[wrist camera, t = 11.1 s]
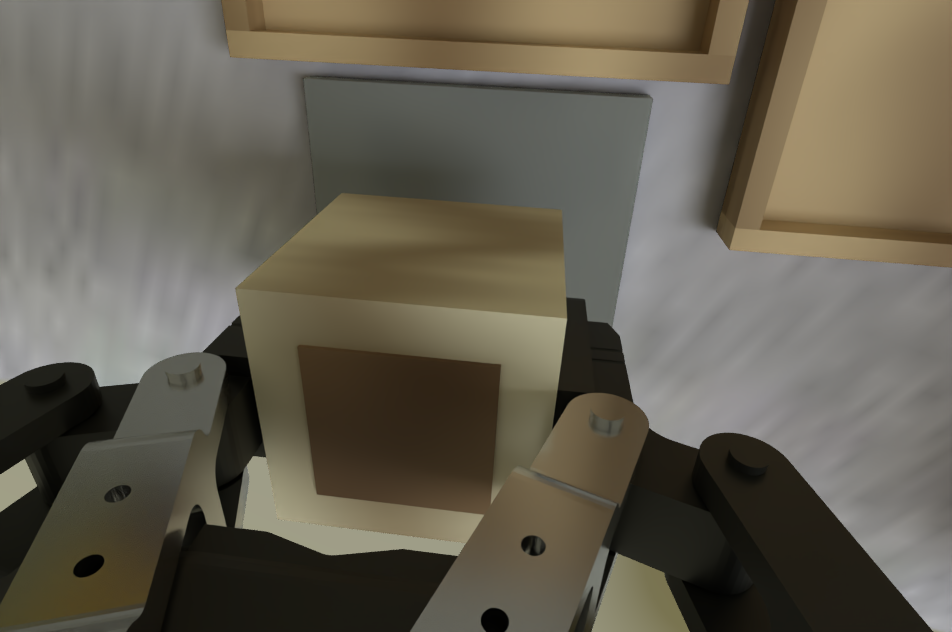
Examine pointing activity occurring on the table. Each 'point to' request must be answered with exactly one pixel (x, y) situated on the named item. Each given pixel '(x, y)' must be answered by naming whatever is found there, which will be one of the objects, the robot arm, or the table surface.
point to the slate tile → (491, 158)
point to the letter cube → (406, 360)
